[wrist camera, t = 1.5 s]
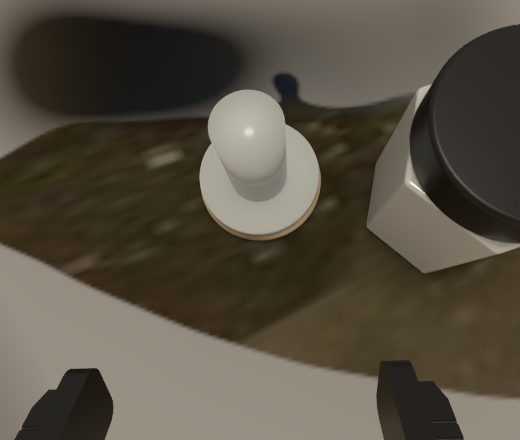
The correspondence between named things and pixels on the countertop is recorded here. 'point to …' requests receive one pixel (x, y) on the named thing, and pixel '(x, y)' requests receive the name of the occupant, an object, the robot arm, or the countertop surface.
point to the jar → (455, 161)
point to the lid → (256, 166)
